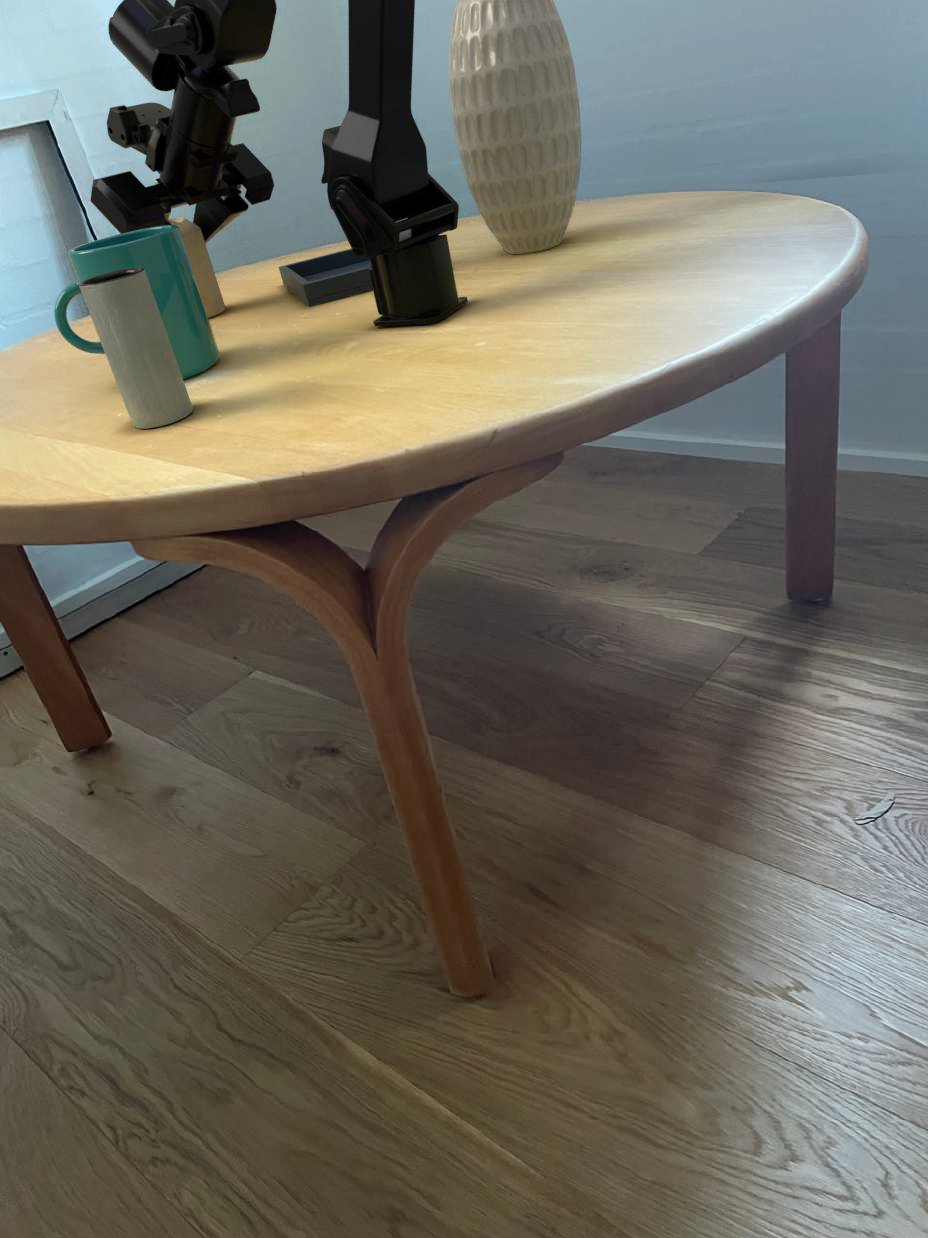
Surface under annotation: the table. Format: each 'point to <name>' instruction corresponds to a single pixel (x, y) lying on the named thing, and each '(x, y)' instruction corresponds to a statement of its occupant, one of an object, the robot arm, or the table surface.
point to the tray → (327, 277)
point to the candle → (200, 265)
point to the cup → (169, 284)
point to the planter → (137, 347)
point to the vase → (516, 118)
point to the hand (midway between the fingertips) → (173, 253)
